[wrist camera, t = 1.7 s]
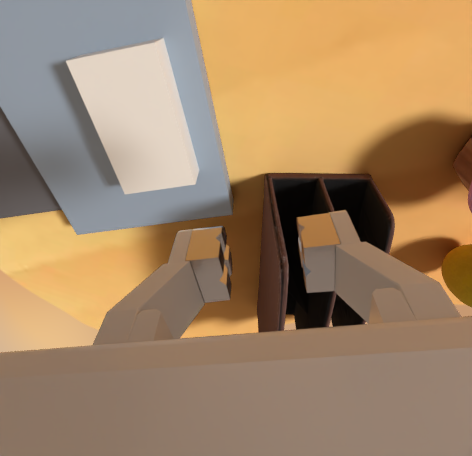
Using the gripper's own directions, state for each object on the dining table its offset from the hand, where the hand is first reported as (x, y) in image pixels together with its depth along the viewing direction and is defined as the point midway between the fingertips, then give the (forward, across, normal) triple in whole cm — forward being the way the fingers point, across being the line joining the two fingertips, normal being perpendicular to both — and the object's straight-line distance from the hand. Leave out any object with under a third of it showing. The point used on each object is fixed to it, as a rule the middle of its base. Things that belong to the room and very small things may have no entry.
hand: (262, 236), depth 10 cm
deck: (+19, +12, 0) cm, 22 cm away
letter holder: (+20, -3, +18) cm, 27 cm away
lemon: (+19, -20, +20) cm, 34 cm away
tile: (+17, +8, 0) cm, 19 cm away
